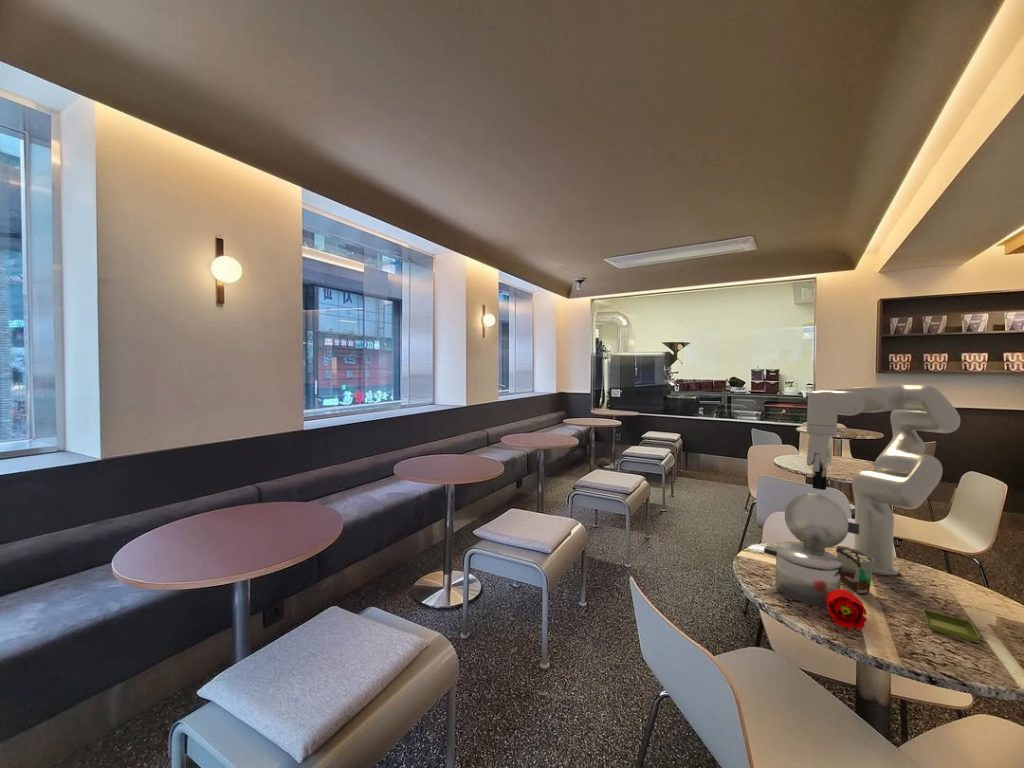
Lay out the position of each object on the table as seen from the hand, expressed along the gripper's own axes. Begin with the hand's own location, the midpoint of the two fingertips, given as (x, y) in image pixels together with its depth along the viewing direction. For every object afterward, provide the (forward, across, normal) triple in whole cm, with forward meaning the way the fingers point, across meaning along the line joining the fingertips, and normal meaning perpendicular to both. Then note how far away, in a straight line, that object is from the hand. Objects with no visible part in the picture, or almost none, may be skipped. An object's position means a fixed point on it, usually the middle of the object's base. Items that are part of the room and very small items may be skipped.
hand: (819, 488), depth 126 cm
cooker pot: (+28, +15, 0) cm, 31 cm away
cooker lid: (+9, +6, +1) cm, 11 cm away
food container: (+28, 0, +10) cm, 29 cm away
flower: (+28, +25, +10) cm, 39 cm away
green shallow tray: (+28, +9, +28) cm, 41 cm away
